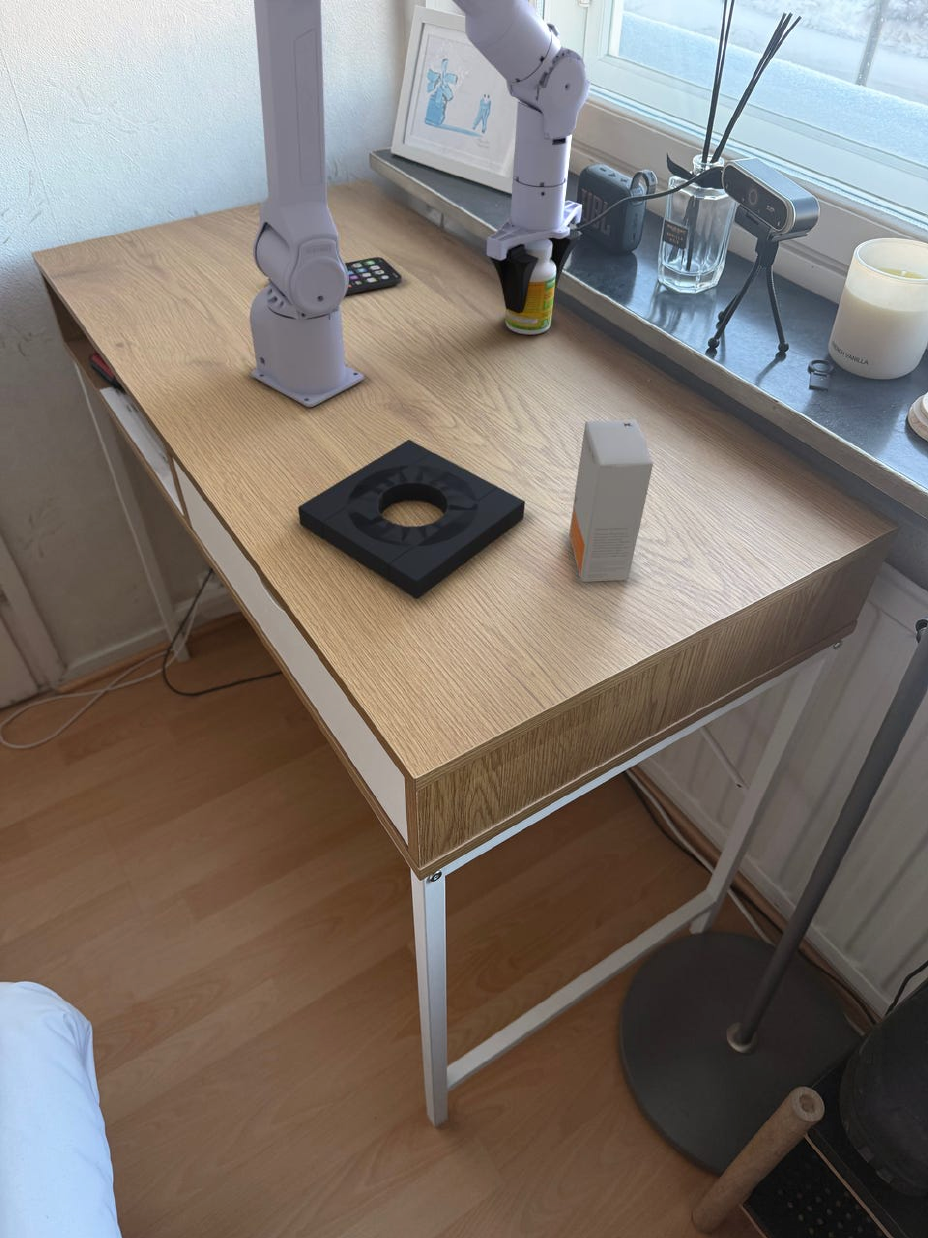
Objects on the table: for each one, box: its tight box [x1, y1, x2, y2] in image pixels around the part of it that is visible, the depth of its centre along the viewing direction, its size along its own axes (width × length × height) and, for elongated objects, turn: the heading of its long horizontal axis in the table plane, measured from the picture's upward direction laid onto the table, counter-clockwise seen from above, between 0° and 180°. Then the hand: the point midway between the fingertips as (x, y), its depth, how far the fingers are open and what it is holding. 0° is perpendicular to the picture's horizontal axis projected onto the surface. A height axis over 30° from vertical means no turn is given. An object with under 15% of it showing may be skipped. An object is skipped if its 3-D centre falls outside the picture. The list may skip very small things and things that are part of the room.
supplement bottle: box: [504, 239, 556, 335], centre depth 99 cm, size 5×5×10 cm
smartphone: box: [344, 256, 403, 296], centre depth 109 cm, size 7×1×15 cm
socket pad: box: [297, 439, 526, 600], centre depth 76 cm, size 14×14×2 cm
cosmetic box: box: [568, 419, 654, 583], centre depth 70 cm, size 6×4×12 cm
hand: (529, 301), depth 101 cm, fingers closed on supplement bottle, 5 cm apart
